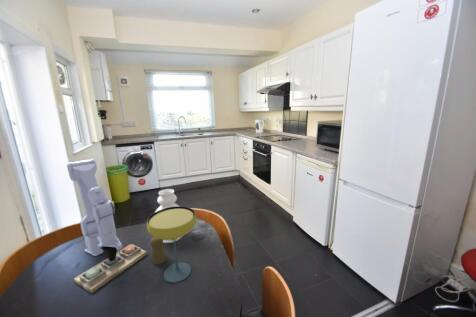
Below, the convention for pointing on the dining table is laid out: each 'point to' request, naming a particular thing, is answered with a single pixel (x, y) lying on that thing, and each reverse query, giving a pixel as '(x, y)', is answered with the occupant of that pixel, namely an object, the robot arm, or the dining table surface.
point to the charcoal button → (112, 261)
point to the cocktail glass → (173, 235)
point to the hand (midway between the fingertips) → (112, 259)
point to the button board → (110, 269)
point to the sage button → (92, 273)
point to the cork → (157, 251)
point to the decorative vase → (167, 204)
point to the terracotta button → (129, 249)
